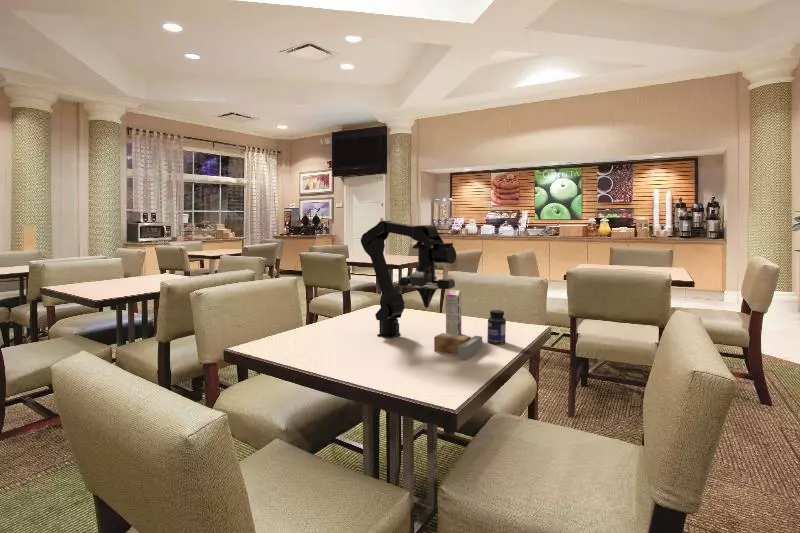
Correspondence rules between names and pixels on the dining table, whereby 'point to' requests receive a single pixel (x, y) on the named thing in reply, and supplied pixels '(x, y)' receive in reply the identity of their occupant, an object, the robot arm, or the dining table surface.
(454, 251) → the robot arm
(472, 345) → the fence board
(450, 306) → the candy bar box
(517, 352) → the dining table surface
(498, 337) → the pill bottle
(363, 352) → the dining table surface
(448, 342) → the walnut brick
